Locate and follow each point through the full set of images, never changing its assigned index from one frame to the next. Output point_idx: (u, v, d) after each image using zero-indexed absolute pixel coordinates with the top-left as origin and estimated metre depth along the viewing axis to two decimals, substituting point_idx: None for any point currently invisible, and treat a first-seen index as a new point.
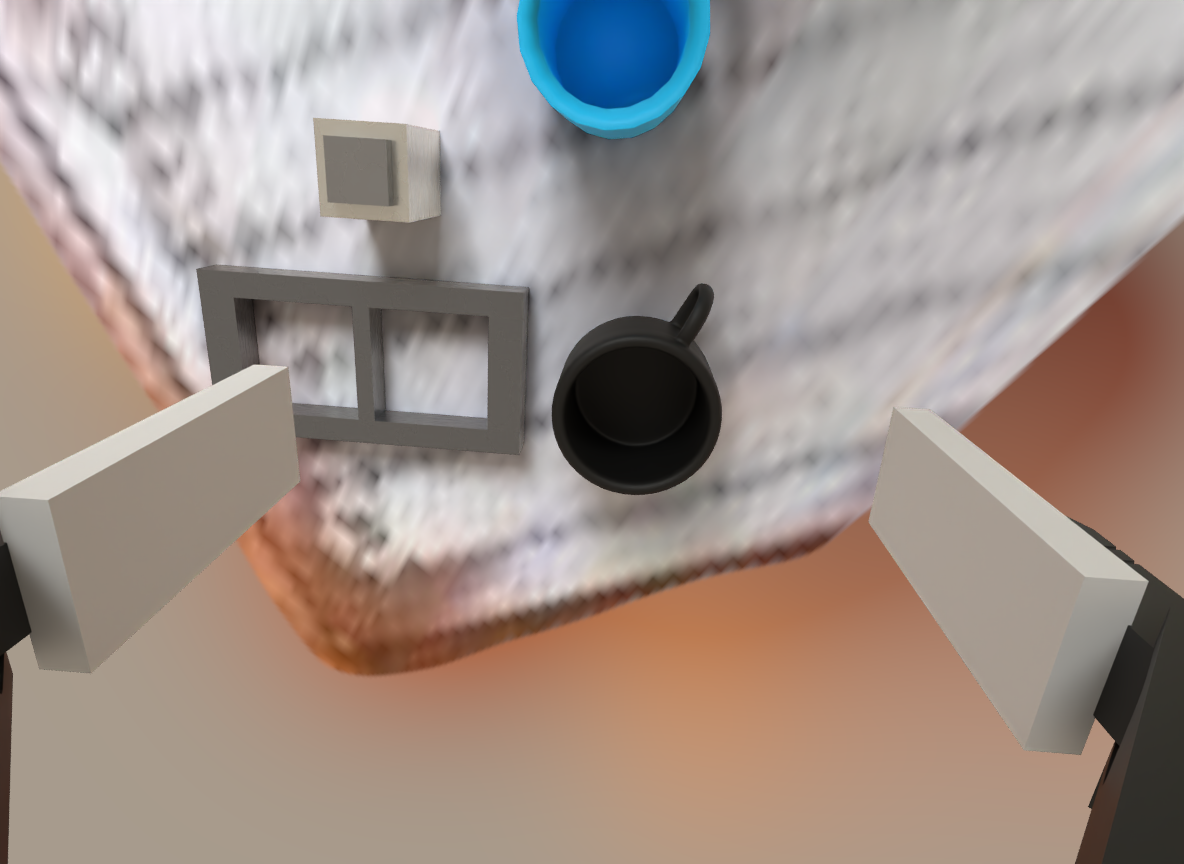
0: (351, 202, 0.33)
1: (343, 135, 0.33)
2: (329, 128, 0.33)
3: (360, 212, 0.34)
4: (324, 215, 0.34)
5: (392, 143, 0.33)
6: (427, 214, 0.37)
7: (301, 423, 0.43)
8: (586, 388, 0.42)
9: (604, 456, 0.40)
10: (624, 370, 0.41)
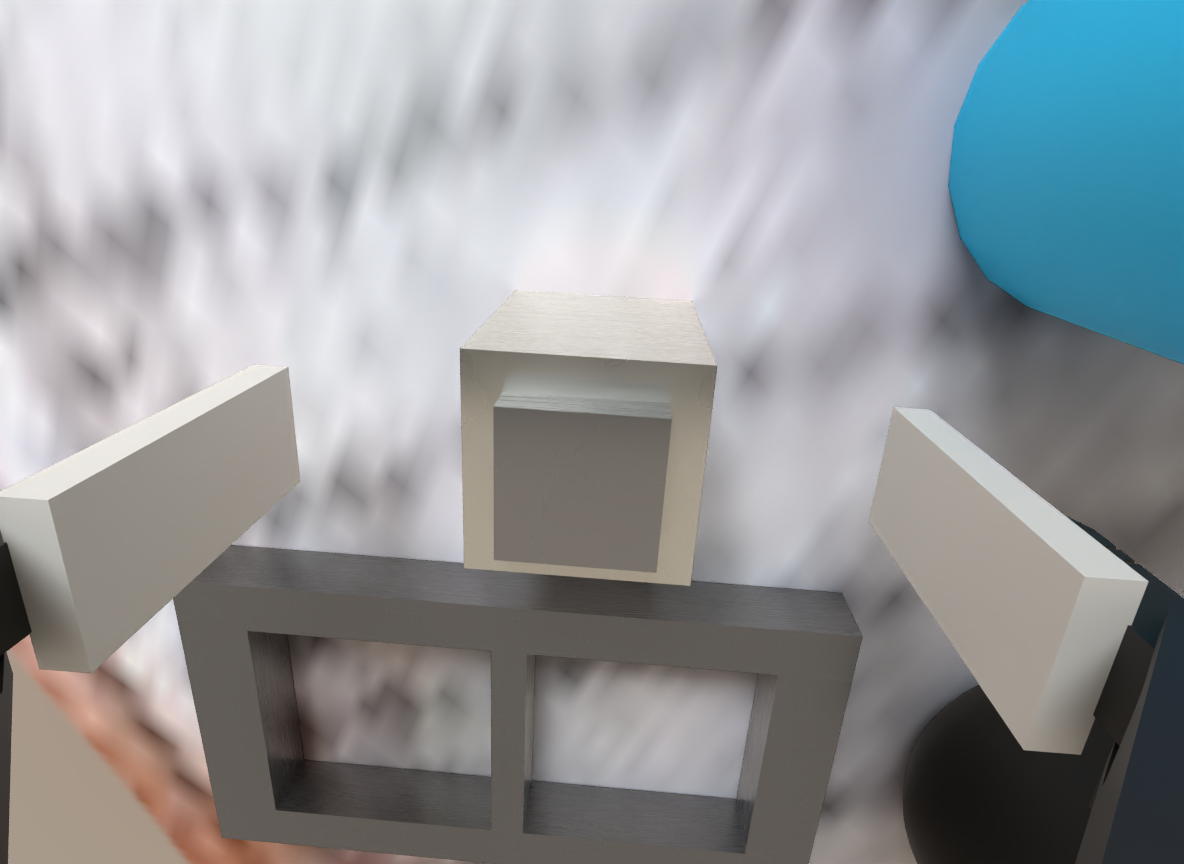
0: (557, 562, 0.13)
1: (539, 391, 0.12)
2: (502, 374, 0.12)
3: None
4: (474, 566, 0.14)
5: (671, 410, 0.12)
6: None
7: (380, 832, 0.22)
8: None
9: None
10: None
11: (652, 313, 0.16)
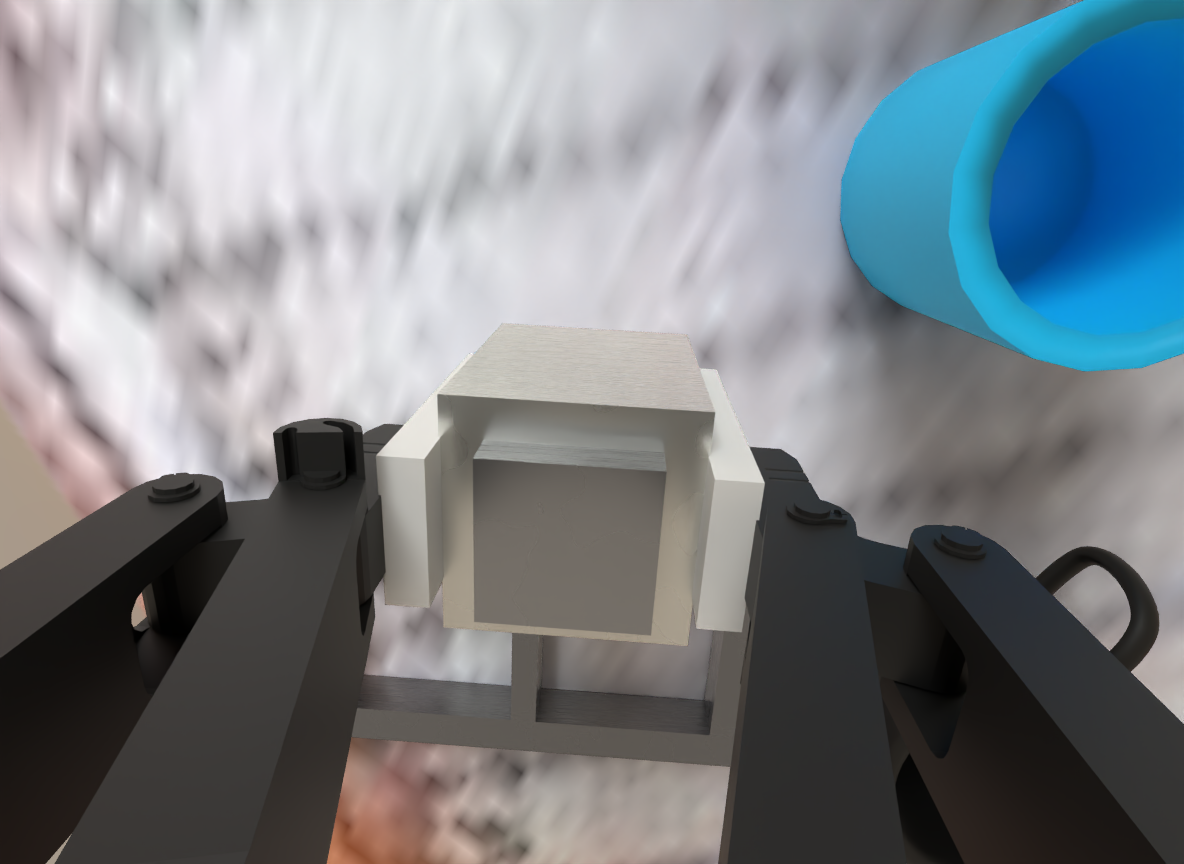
0: (543, 625, 0.12)
1: (523, 439, 0.11)
2: (483, 421, 0.11)
3: None
4: (454, 625, 0.13)
5: (666, 459, 0.11)
6: None
7: (422, 724, 0.28)
8: None
9: (914, 799, 0.25)
10: None
11: (645, 349, 0.15)
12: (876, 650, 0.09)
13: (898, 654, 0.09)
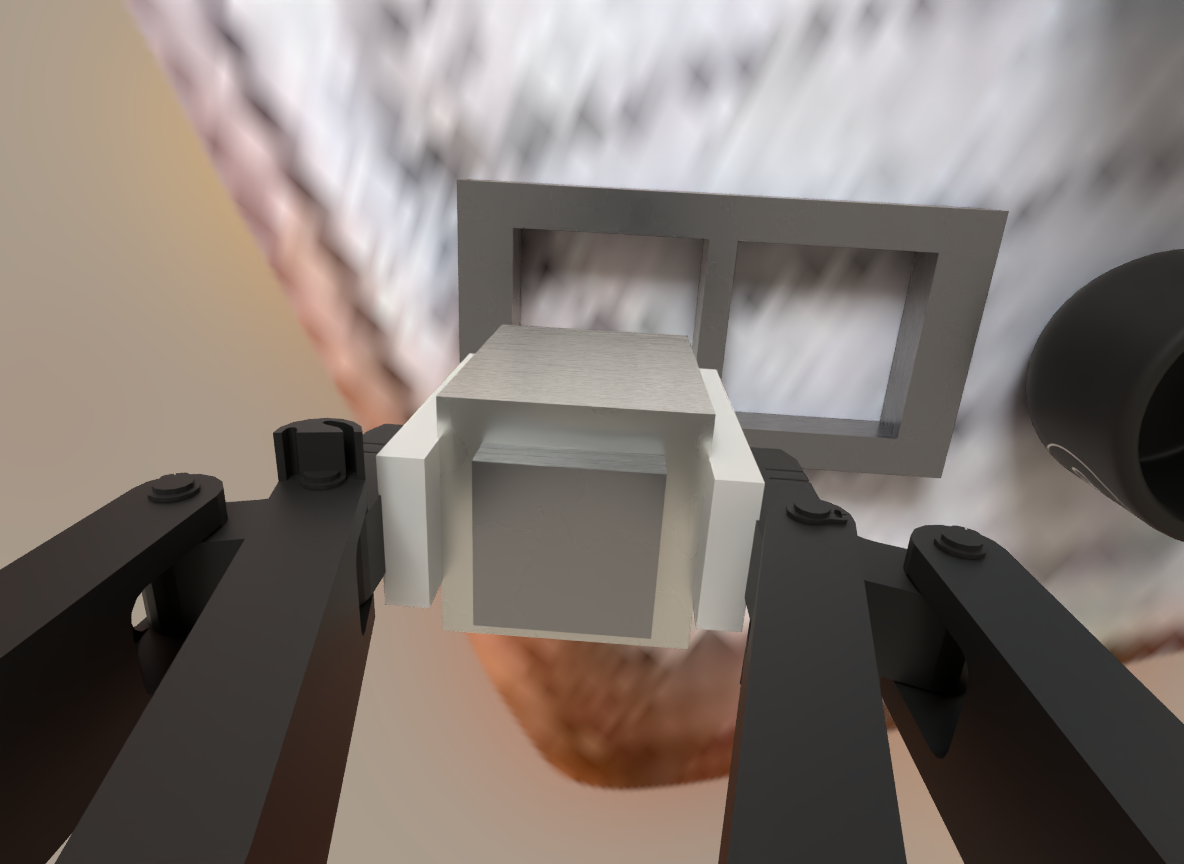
0: (542, 628, 0.12)
1: (522, 441, 0.11)
2: (482, 423, 0.11)
3: None
4: (453, 628, 0.13)
5: (667, 462, 0.11)
6: None
7: None
8: None
9: None
10: None
11: (645, 351, 0.15)
12: (876, 650, 0.09)
13: (898, 654, 0.09)
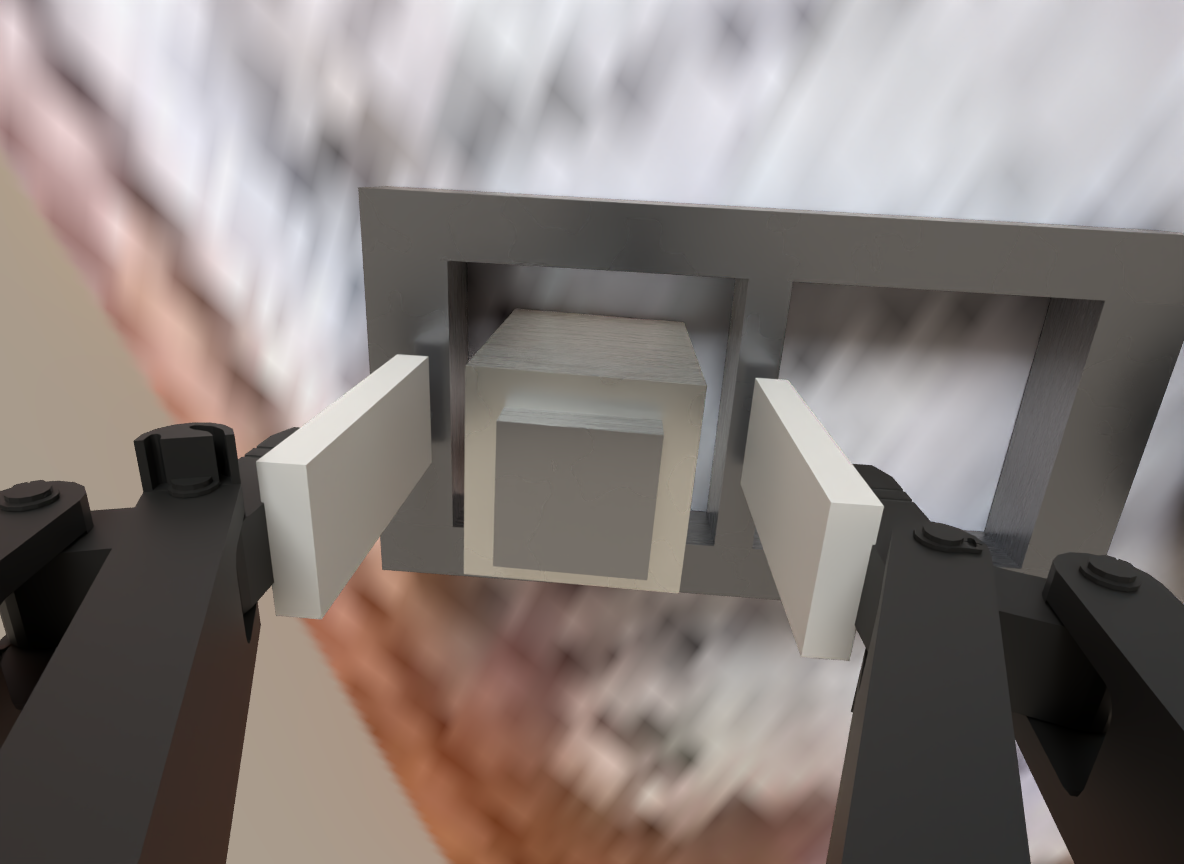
0: (553, 569, 0.13)
1: (539, 406, 0.13)
2: (504, 390, 0.13)
3: None
4: (473, 572, 0.14)
5: (663, 427, 0.13)
6: None
7: None
8: None
9: None
10: None
11: (646, 334, 0.17)
12: (1015, 686, 0.09)
13: (1040, 691, 0.09)
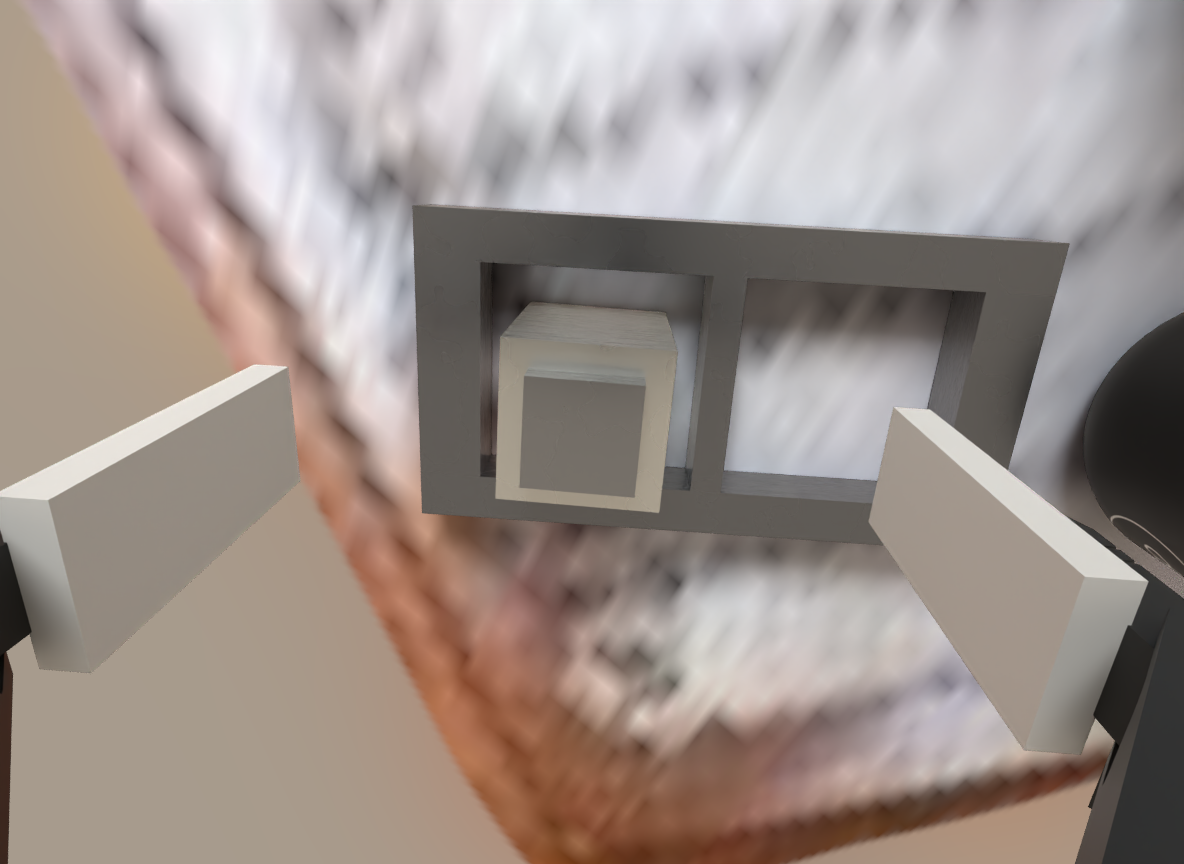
0: (564, 489, 0.18)
1: (554, 367, 0.18)
2: (529, 355, 0.18)
3: (570, 494, 0.19)
4: (502, 497, 0.19)
5: (646, 382, 0.18)
6: None
7: None
8: None
9: None
10: None
11: (634, 319, 0.21)
12: None
13: None
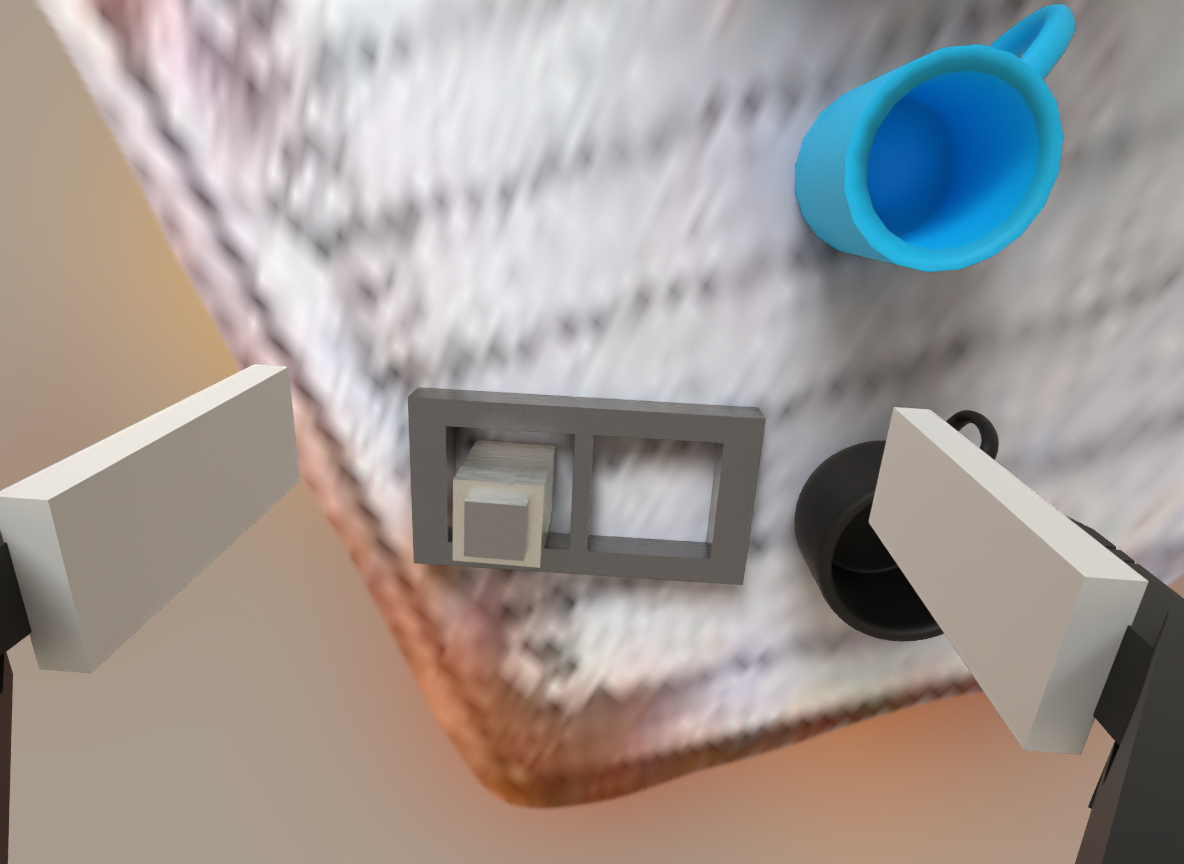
0: (487, 557, 0.34)
1: (481, 494, 0.34)
2: (468, 488, 0.34)
3: None
4: (456, 559, 0.35)
5: (528, 501, 0.34)
6: (546, 534, 0.38)
7: None
8: None
9: (851, 592, 0.37)
10: None
11: (533, 455, 0.38)
12: None
13: None
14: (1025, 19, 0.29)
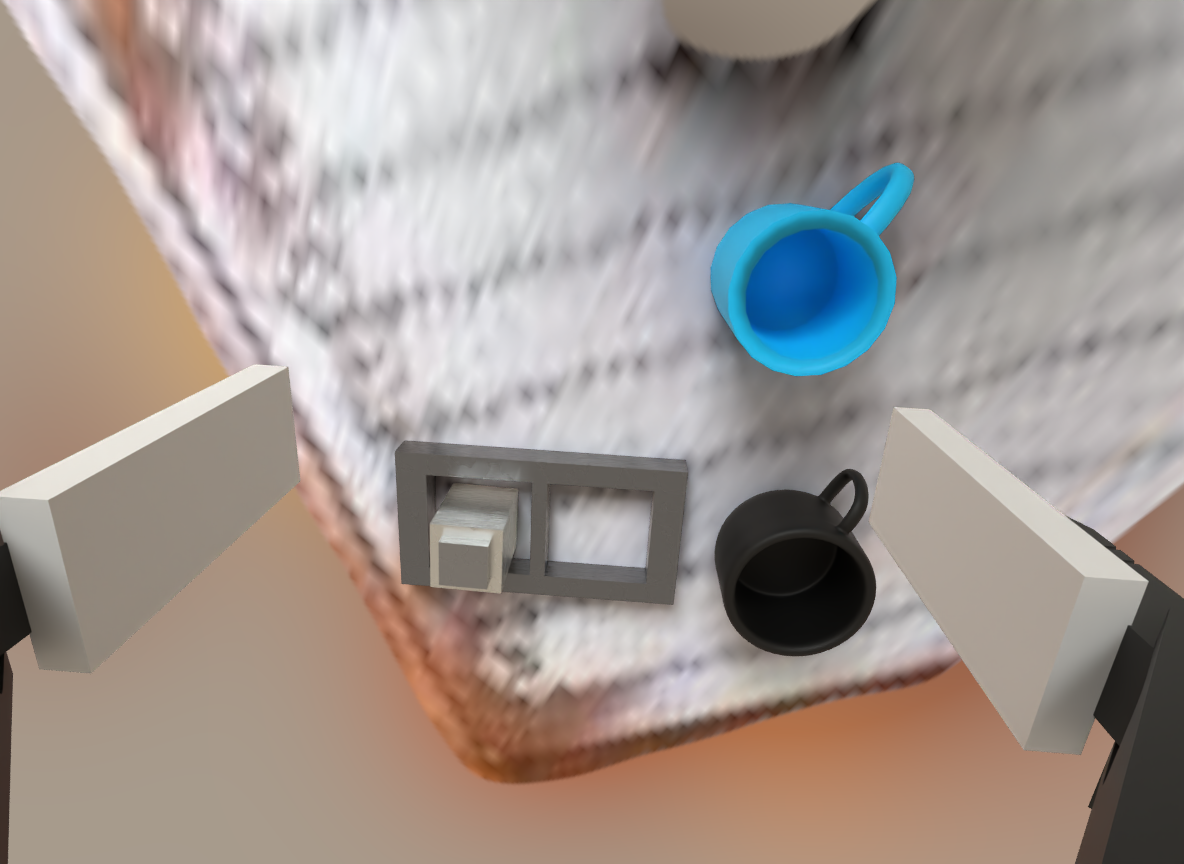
0: (457, 586, 0.43)
1: (452, 535, 0.42)
2: (442, 531, 0.42)
3: None
4: (433, 586, 0.44)
5: (491, 542, 0.42)
6: (510, 563, 0.47)
7: None
8: None
9: (758, 614, 0.45)
10: None
11: (498, 499, 0.46)
12: None
13: None
14: (883, 169, 0.36)
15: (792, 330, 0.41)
